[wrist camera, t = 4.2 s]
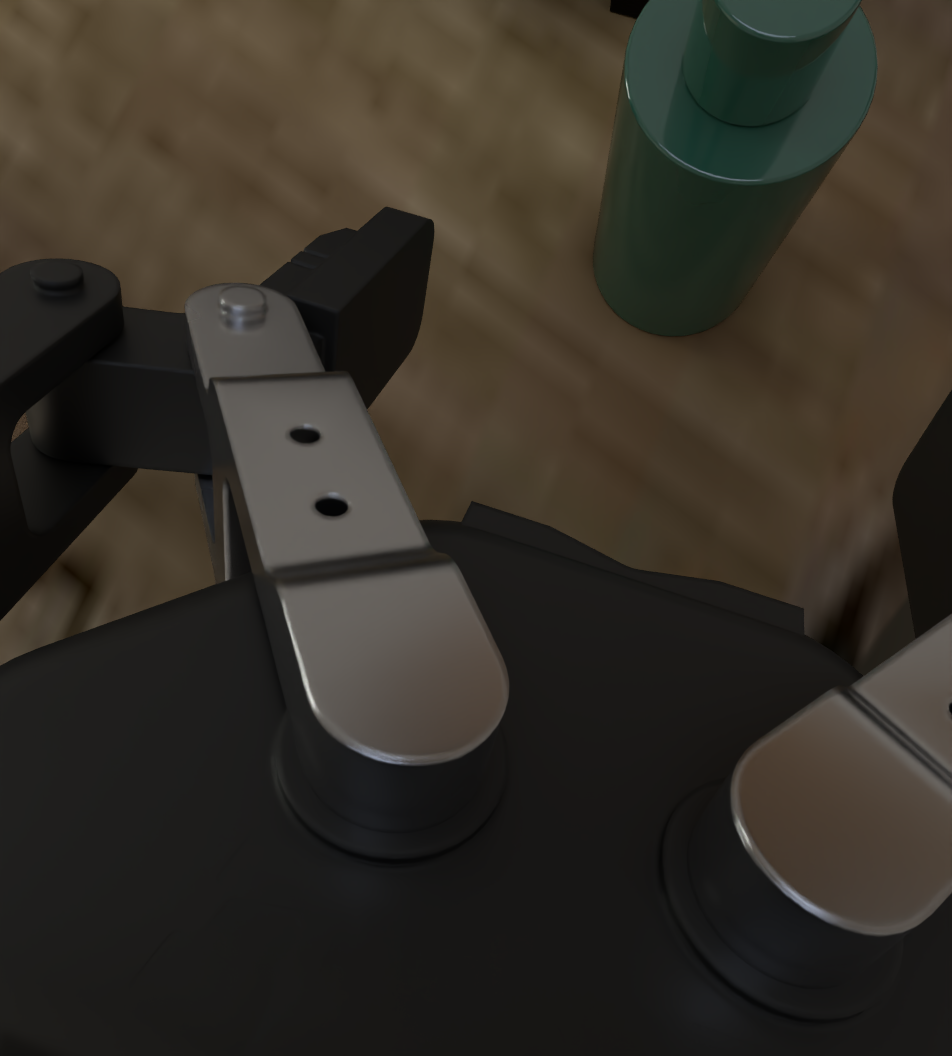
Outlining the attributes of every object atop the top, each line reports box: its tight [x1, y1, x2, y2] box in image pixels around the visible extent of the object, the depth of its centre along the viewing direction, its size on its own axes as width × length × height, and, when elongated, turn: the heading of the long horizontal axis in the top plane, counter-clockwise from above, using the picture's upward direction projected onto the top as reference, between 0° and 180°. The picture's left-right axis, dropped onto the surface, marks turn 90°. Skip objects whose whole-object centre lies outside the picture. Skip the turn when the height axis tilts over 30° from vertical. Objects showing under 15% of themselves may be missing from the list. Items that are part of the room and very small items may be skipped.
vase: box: [593, 0, 878, 336], centre depth 19 cm, size 5×5×12 cm
